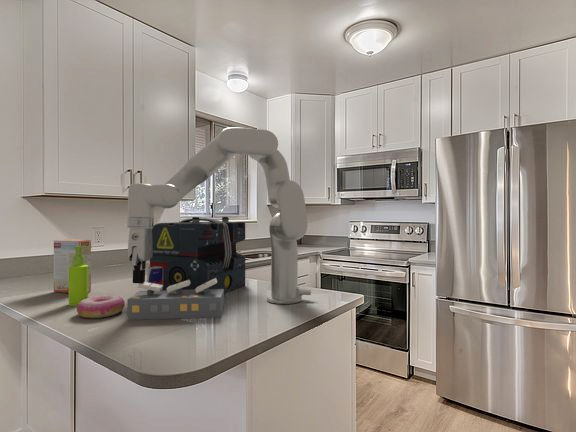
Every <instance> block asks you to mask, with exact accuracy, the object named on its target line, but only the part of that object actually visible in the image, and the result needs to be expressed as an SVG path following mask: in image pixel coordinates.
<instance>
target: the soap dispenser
mask: <svg viewBox="0 0 576 432" xmlns="http://www.w3.org/2000/svg"><path fill="white" fill-rule="evenodd" d="M73 248H74V249H76V255H74V256H73V265H72V266H69V293H68V306H70V307H77V305H78V304H79V303H80V302H81V301H82V300H84V299H87V298H89V292H88V265H84V255H81V248H91V249H92V246H91V247H90V246H75V247H73Z"/></svg>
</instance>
